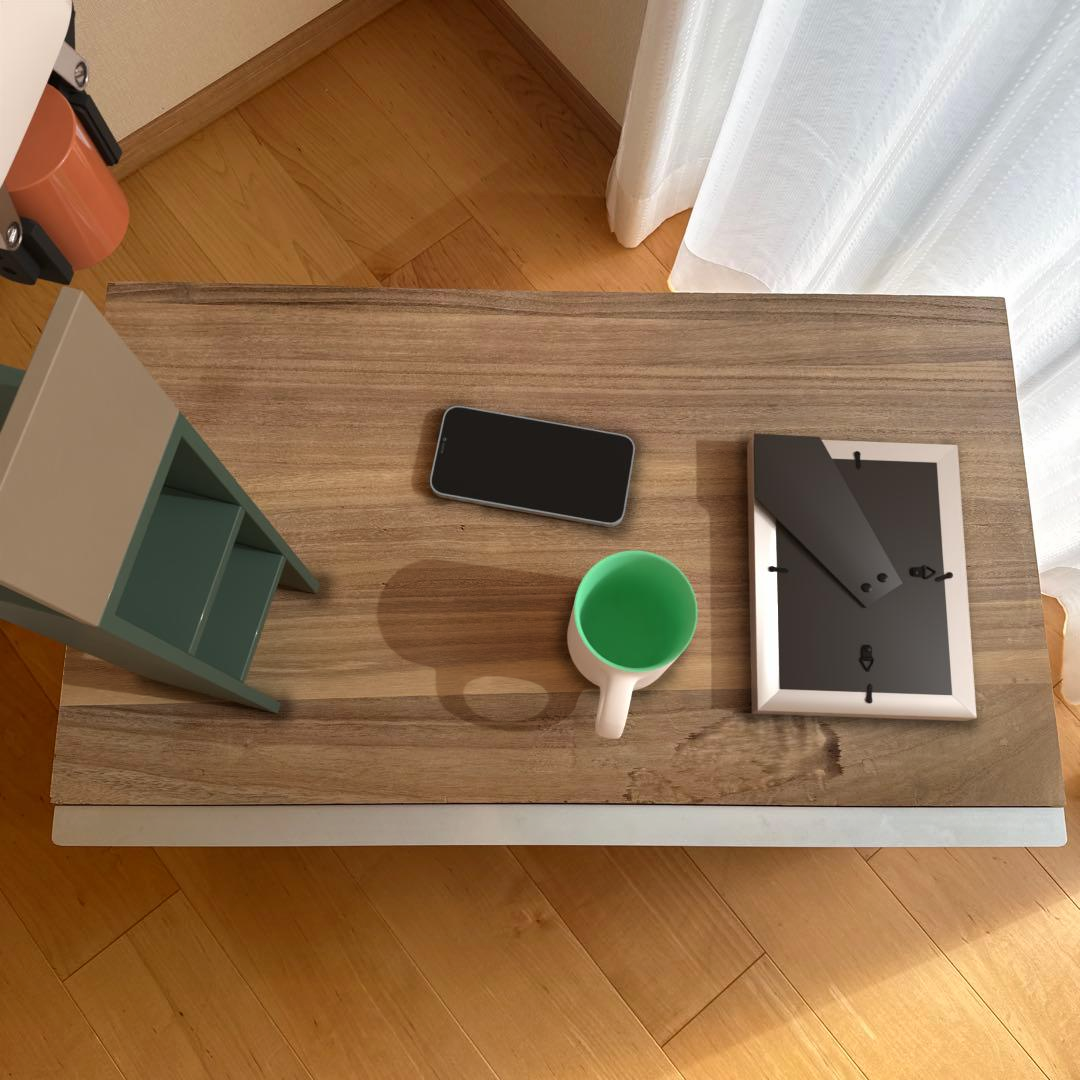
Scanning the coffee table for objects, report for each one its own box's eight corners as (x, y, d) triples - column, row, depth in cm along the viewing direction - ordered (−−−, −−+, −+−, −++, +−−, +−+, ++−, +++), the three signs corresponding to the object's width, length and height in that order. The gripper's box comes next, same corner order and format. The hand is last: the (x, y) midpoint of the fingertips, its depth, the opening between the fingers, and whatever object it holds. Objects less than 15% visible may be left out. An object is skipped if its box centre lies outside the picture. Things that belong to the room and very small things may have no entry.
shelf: (147, 678, 79) (-324, 486, 35) (193, 550, 82) (-191, 219, 38) (277, 713, 79) (-31, 565, 35) (320, 584, 82) (83, 289, 37)
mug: (662, 753, 79) (683, 742, 69) (552, 737, 79) (557, 723, 69) (680, 592, 82) (703, 559, 72) (575, 577, 82) (582, 542, 72)
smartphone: (622, 527, 82) (427, 492, 82) (621, 530, 83) (427, 496, 83) (637, 436, 84) (446, 402, 84) (635, 440, 85) (446, 407, 85)
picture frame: (746, 446, 85) (751, 713, 80) (754, 433, 82) (759, 709, 77) (947, 453, 85) (965, 721, 80) (961, 441, 82) (981, 717, 77)
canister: (-8, 257, 46) (-83, 174, 40) (35, 156, 47) (-32, 61, 41) (106, 284, 45) (47, 205, 40) (146, 182, 47) (94, 90, 41)
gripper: (-218, -440, 30) (49, 26, 48) (-516, 65, 26) (-102, 373, 44) (38, -385, 30) (213, 63, 48) (-220, 135, 26) (77, 417, 43)
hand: (61, 209), depth 45 cm, fingers closed on canister, 5 cm apart
